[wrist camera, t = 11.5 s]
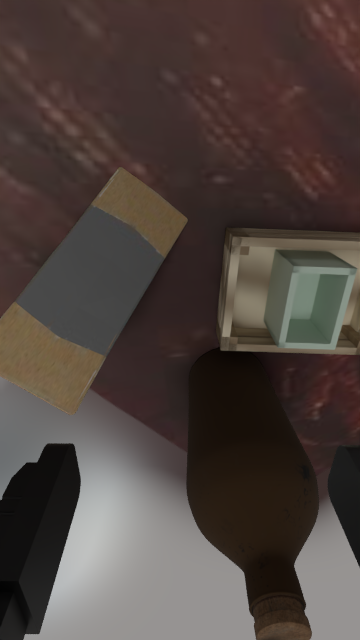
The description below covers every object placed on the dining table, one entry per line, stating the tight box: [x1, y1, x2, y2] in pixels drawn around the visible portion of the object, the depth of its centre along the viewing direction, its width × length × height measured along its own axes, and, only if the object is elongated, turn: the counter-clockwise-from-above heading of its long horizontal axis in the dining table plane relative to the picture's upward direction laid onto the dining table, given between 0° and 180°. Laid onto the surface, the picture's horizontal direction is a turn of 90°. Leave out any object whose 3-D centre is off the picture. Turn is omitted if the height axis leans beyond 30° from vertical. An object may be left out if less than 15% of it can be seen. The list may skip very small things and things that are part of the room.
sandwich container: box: [0, 167, 188, 415], centre depth 28 cm, size 9×15×15 cm, turn 143°
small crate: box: [263, 249, 357, 350], centre depth 33 cm, size 8×6×6 cm
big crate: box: [216, 227, 360, 355], centre depth 34 cm, size 12×16×5 cm
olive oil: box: [187, 348, 319, 640], centre depth 30 cm, size 11×11×25 cm
